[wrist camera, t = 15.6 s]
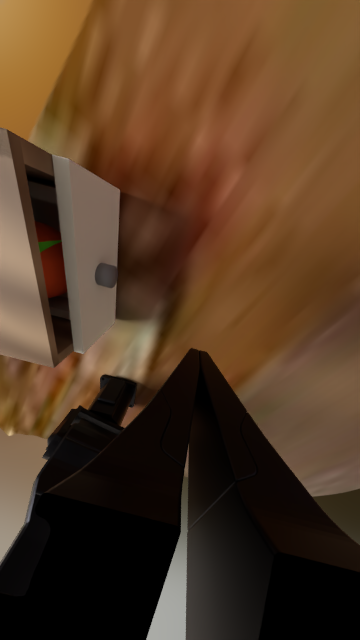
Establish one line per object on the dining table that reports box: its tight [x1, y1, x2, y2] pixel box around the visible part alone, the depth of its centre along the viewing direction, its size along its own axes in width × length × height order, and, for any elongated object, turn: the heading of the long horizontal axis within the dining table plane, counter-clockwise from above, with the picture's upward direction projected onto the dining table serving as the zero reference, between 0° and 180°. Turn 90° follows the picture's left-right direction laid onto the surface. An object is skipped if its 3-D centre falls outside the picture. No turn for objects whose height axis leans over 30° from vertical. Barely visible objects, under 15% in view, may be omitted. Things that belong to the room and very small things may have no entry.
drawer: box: [28, 155, 120, 354], centre depth 16 cm, size 15×14×7 cm
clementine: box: [35, 221, 67, 298], centre depth 15 cm, size 8×7×7 cm
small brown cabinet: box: [0, 128, 74, 368], centre depth 15 cm, size 15×13×10 cm
